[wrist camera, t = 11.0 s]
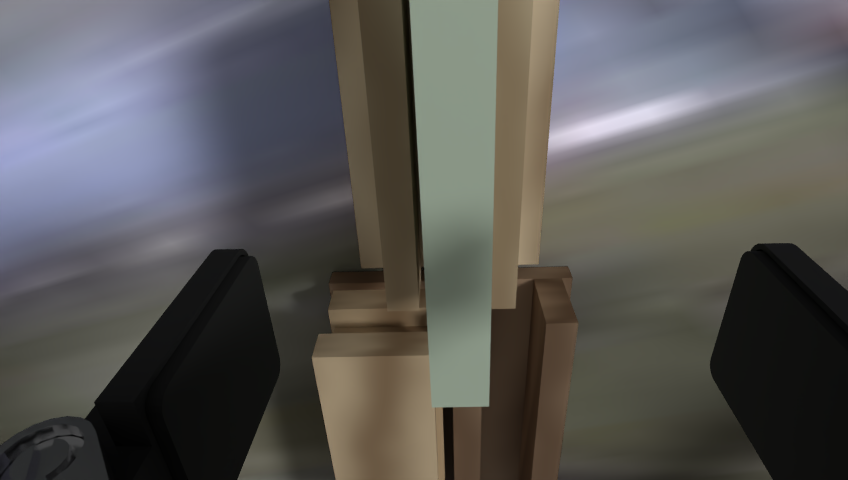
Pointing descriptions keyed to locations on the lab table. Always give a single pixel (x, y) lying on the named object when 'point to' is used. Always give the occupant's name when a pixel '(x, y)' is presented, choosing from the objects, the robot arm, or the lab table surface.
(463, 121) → the tall sheet
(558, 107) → the lab table surface
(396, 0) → the cradle
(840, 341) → the robot arm
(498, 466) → the rack
